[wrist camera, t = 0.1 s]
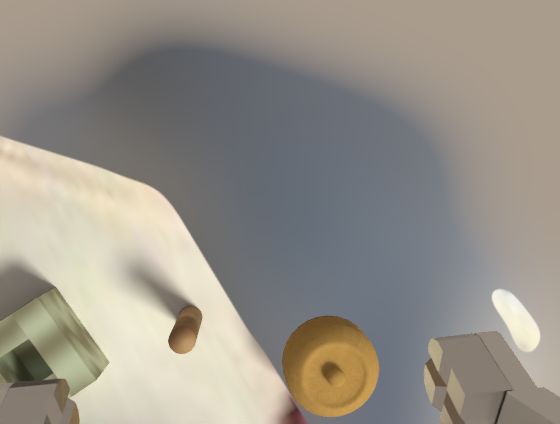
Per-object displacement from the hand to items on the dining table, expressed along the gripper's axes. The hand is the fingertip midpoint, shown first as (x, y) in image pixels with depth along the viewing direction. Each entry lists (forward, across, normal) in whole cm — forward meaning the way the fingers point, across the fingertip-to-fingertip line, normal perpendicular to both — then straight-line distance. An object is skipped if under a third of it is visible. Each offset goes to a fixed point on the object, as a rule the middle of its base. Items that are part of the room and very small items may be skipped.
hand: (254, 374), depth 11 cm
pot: (+39, +9, -43) cm, 58 cm away
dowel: (+42, -8, -37) cm, 56 cm away
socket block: (+40, -27, -39) cm, 62 cm away
